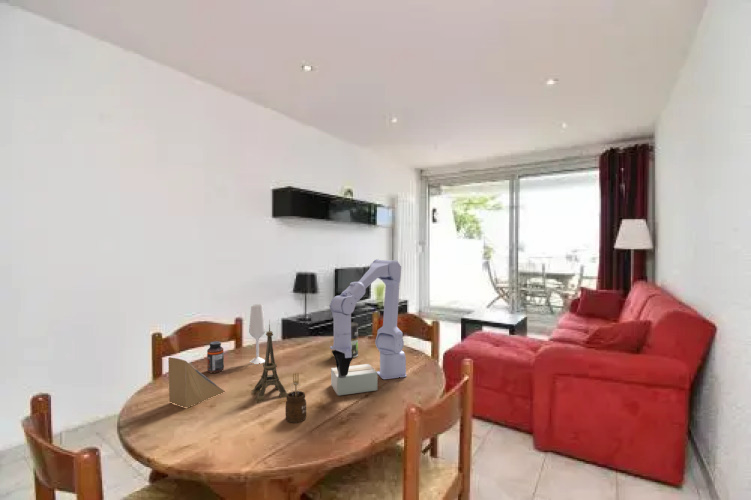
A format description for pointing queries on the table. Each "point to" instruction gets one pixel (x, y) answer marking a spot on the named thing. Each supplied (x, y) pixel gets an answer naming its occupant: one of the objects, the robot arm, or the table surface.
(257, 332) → the champagne flute
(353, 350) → the coffee can
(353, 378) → the flap
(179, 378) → the sandwich container
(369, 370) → the carton
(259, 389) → the eiffel tower
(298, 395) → the utensil holder
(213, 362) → the supplement bottle
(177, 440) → the table surface
